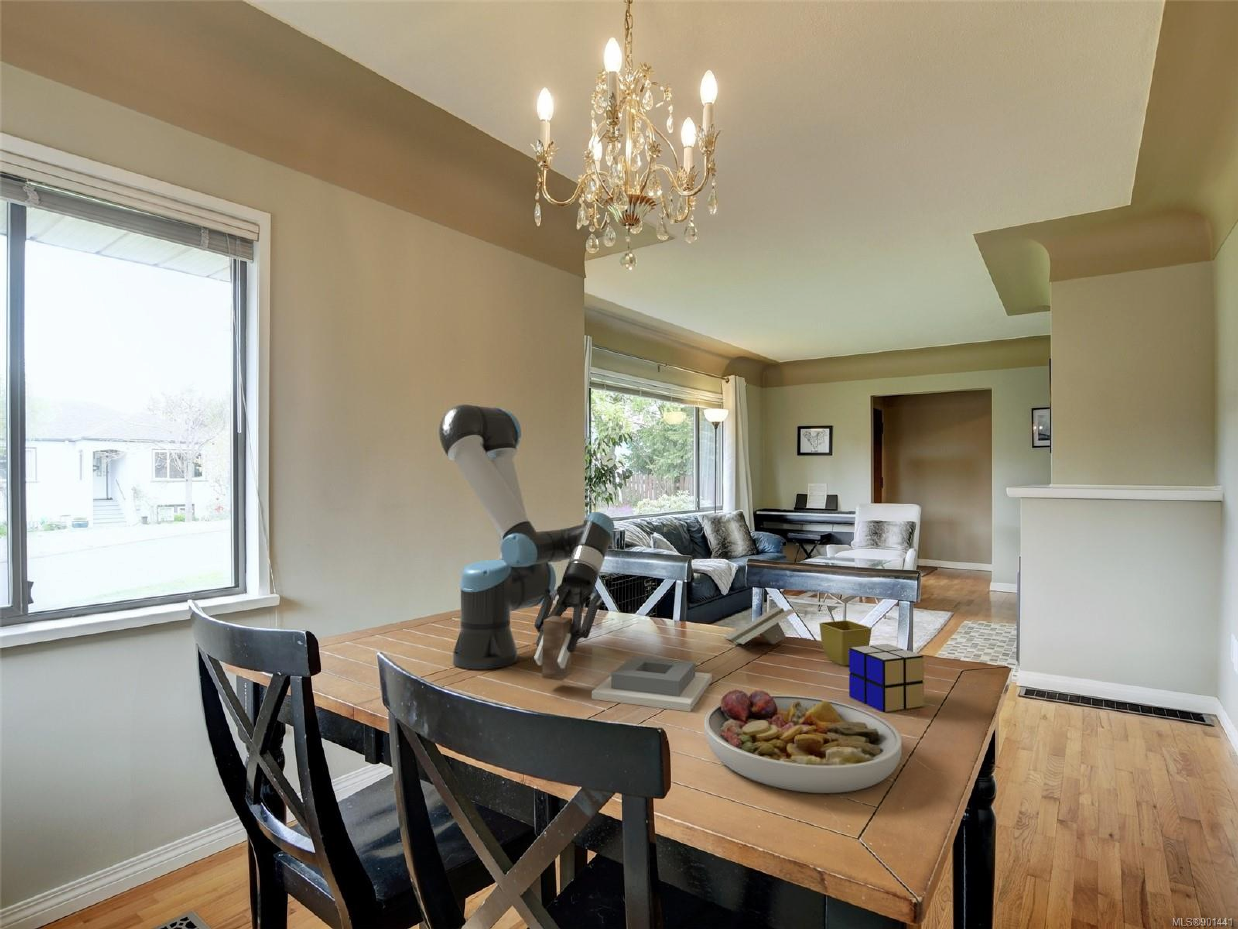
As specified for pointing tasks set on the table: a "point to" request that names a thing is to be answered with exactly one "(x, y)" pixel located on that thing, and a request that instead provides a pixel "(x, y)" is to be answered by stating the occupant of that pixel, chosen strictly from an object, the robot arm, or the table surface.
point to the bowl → (802, 742)
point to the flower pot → (843, 639)
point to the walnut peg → (555, 647)
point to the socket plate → (655, 698)
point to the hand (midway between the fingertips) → (549, 663)
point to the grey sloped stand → (762, 627)
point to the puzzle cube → (886, 677)
